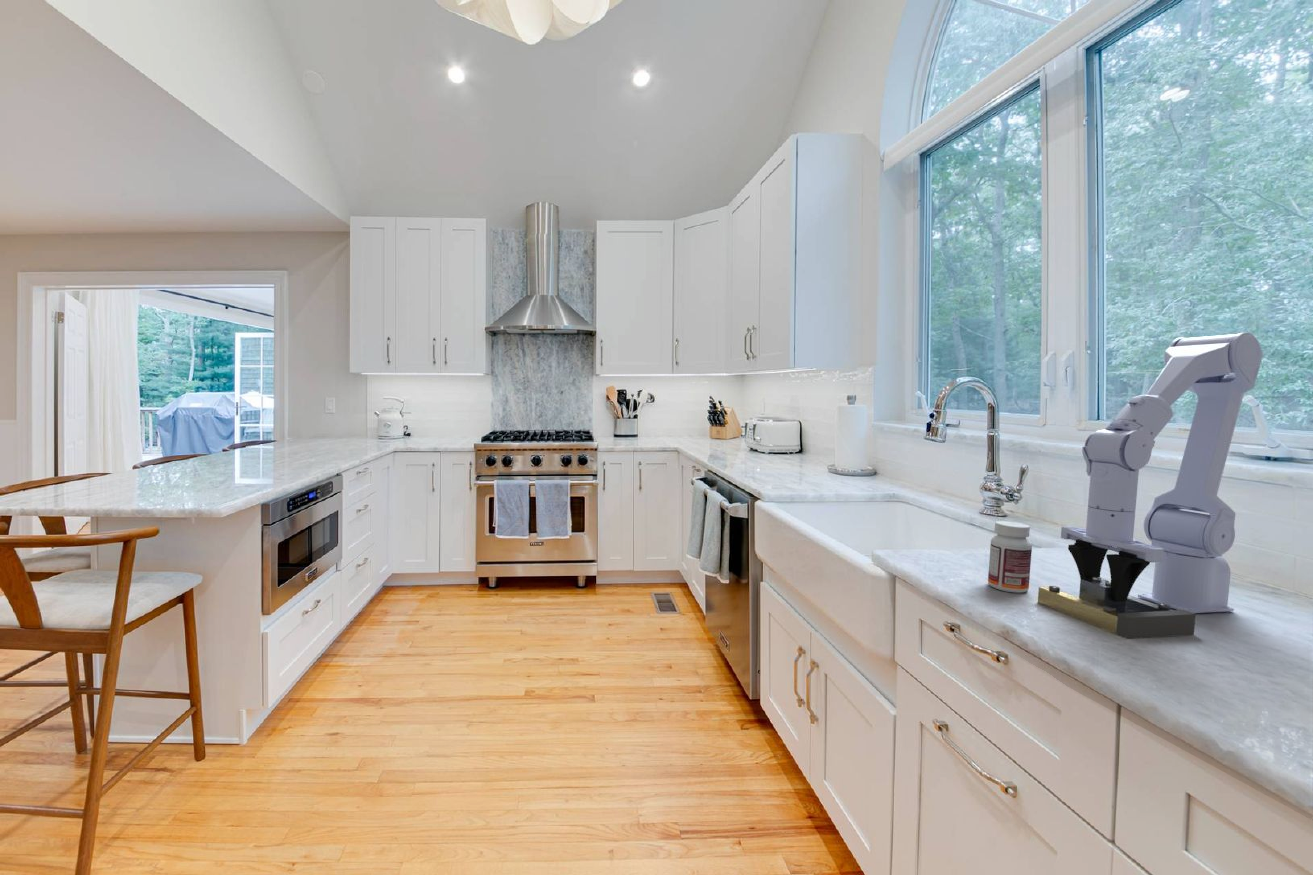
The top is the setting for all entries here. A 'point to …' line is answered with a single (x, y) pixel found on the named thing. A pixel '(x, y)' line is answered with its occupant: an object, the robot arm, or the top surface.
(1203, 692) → the top surface
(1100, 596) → the grey bolted block
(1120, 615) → the block
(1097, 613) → the brass end link
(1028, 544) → the pill bottle
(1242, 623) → the top surface
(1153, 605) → the steel end link
